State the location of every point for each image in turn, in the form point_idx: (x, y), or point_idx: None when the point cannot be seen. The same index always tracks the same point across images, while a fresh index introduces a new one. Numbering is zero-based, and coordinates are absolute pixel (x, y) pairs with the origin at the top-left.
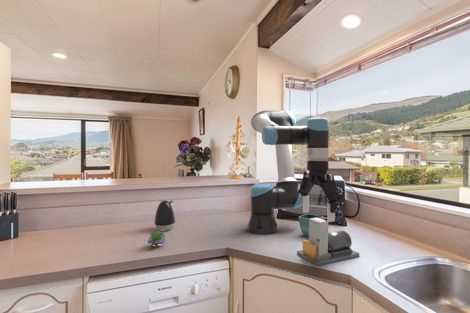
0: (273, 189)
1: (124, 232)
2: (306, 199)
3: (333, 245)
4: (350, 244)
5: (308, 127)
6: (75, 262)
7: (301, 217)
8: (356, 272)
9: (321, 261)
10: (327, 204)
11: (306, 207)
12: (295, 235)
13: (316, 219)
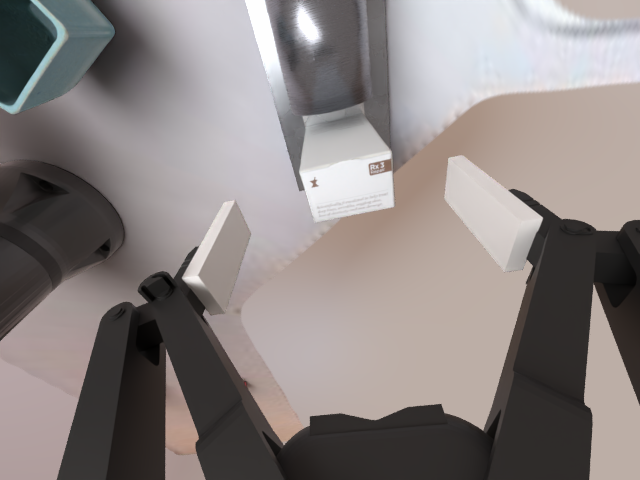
0: None
1: (168, 408)
2: (221, 275)
3: (372, 92)
4: None
5: None
6: (282, 419)
7: (23, 102)
8: (478, 66)
9: None
10: (500, 264)
11: (236, 236)
12: (99, 110)
13: (343, 200)
